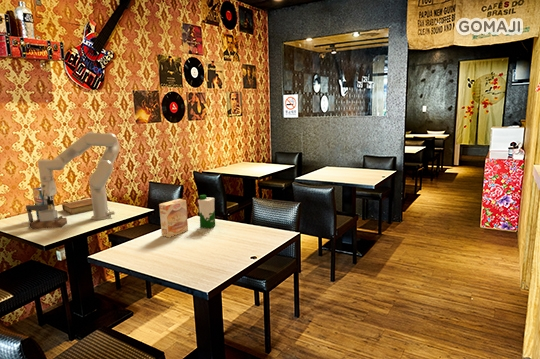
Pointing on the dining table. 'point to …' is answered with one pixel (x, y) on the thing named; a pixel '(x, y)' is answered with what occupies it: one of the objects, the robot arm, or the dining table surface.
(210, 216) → the milk carton
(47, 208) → the lever
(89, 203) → the diary
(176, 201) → the coffeecake box
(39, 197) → the beverage box
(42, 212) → the light grey block
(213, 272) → the dining table surface
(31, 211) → the post
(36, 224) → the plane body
